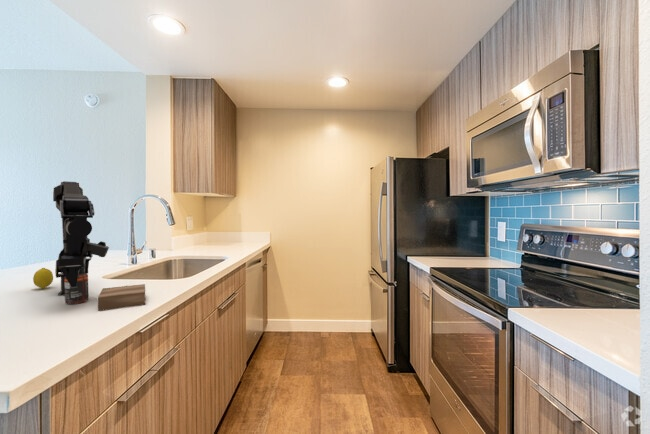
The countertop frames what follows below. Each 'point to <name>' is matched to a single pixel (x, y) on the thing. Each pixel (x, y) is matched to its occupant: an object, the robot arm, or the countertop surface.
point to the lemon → (43, 278)
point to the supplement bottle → (77, 289)
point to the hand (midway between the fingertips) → (76, 283)
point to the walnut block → (121, 297)
